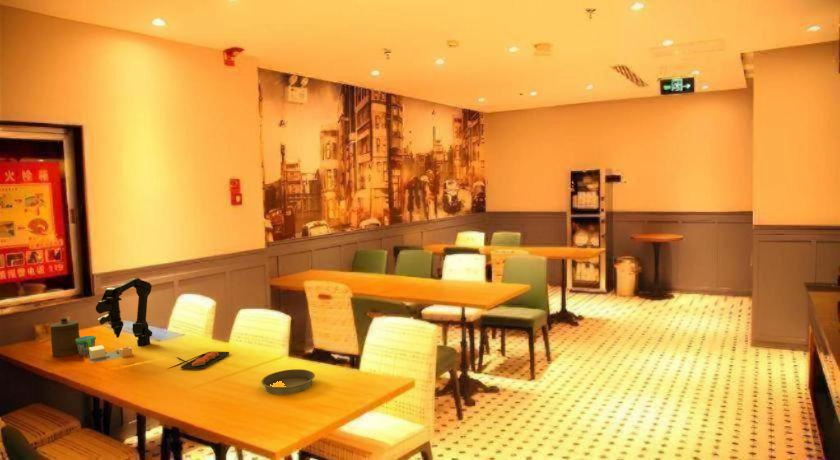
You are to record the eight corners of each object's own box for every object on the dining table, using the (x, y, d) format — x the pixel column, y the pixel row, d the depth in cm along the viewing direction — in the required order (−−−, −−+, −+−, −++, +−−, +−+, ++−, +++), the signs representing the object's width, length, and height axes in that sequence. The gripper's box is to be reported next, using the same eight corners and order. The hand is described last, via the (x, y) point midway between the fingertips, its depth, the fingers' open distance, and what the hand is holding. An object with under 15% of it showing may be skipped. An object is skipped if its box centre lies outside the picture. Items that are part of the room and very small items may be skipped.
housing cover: (102, 353, 341) (102, 345, 340) (105, 357, 333) (104, 348, 333) (89, 356, 337) (88, 347, 336) (91, 359, 329) (90, 351, 328)
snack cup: (74, 353, 348) (72, 337, 347) (94, 350, 354) (92, 333, 353) (79, 359, 336) (77, 342, 335) (99, 355, 342) (98, 338, 341)
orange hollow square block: (130, 353, 339) (129, 346, 339) (132, 355, 335) (131, 348, 335) (120, 355, 336) (119, 348, 336) (122, 357, 332) (121, 350, 331)
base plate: (127, 350, 350) (126, 345, 349) (133, 357, 335) (132, 351, 335) (87, 358, 337) (86, 352, 337) (91, 365, 323) (91, 359, 322)
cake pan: (252, 388, 275) (251, 379, 274) (296, 374, 292) (296, 365, 292) (279, 400, 257) (279, 391, 257) (325, 385, 274) (325, 376, 274)
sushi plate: (203, 372, 304) (202, 364, 304) (152, 370, 310) (151, 363, 310) (231, 355, 332) (231, 348, 332) (184, 354, 338) (184, 347, 338)
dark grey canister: (86, 349, 357) (83, 313, 355) (69, 356, 343) (66, 319, 341) (64, 349, 359) (60, 314, 357) (46, 356, 344) (42, 320, 342)
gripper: (96, 309, 337) (99, 335, 339) (99, 314, 322) (102, 342, 323) (117, 305, 344) (120, 331, 345) (122, 311, 328) (125, 338, 330)
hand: (116, 336), depth 336 cm, fingers open, 9 cm apart
